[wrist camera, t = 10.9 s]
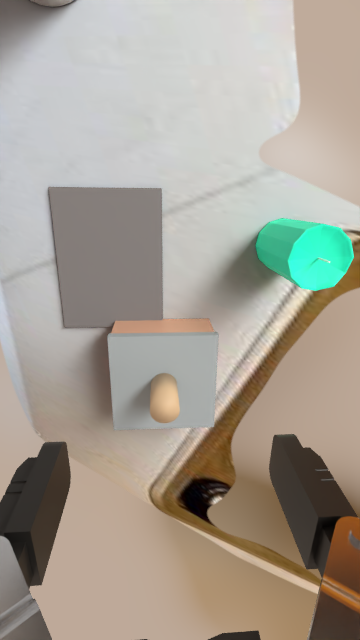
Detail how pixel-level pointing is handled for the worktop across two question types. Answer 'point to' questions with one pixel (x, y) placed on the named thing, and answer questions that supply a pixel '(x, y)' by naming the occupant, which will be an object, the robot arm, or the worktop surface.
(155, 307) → the mat
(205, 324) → the dish
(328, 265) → the candle
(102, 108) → the worktop surface
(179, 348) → the lid
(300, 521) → the robot arm
